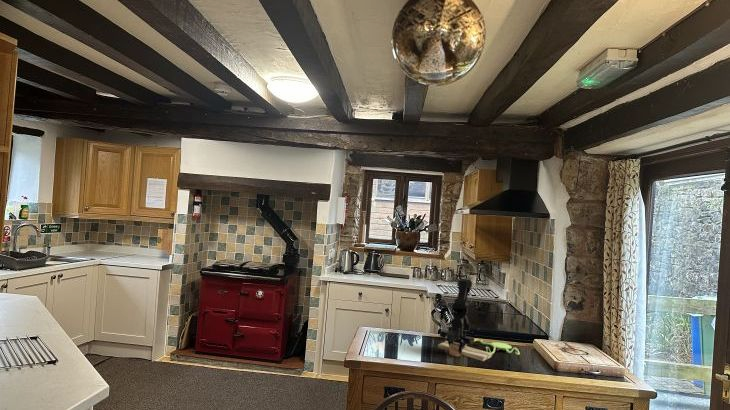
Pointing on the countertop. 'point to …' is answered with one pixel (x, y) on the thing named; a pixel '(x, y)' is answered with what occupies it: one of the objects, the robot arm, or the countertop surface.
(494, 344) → the figurine
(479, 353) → the board
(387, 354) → the countertop surface
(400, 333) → the countertop surface
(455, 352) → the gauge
